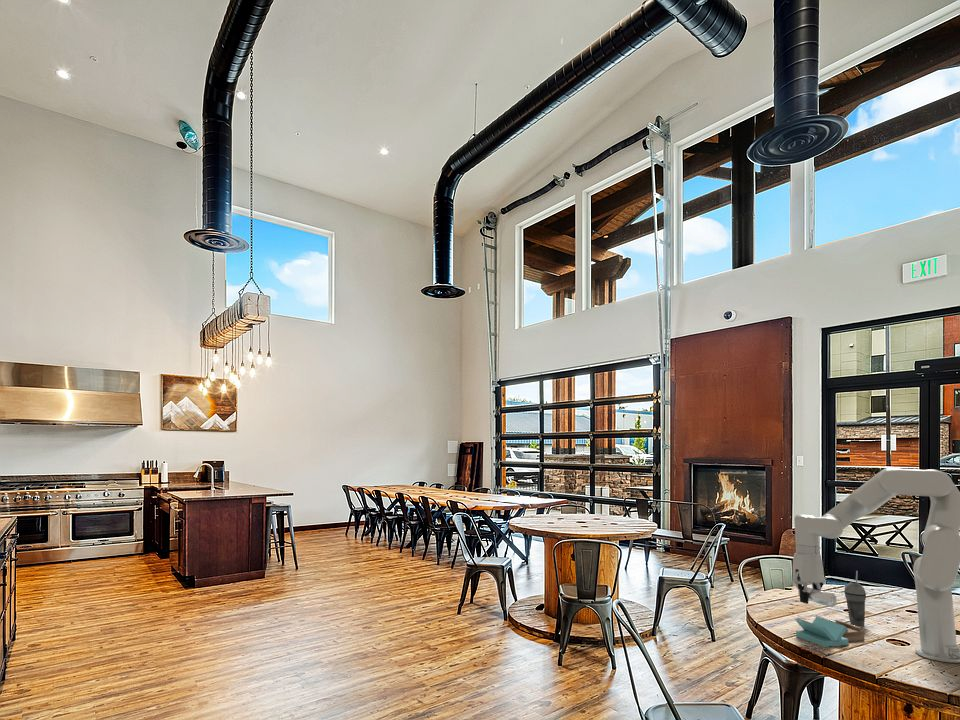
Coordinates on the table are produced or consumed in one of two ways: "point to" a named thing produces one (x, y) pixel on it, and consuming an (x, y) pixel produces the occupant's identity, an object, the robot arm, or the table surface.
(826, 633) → the v block
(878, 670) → the table surface
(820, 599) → the axle
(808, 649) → the table surface
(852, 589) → the beverage cup
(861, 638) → the tan stepped block
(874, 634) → the table surface
